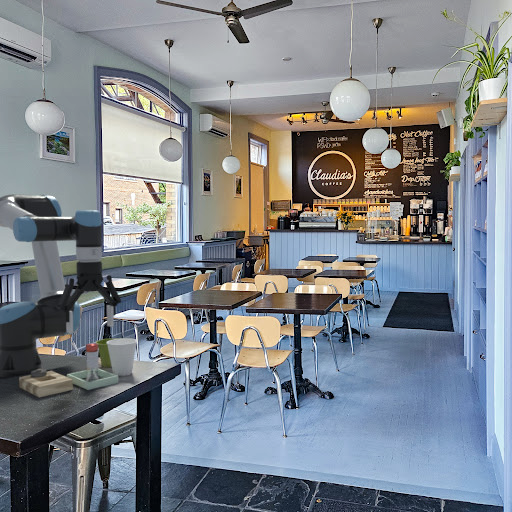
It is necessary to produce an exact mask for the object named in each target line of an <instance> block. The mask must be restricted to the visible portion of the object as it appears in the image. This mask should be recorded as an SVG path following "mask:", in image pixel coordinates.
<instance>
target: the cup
mask: <svg viewBox="0 0 512 512" xmlns="http://www.w3.org/2000/svg"><path fill="white" fill-rule="evenodd" d="M137 342H138V340H137V339H135V338H126V337H124V338H121V337H120V338H117V339H113V340H109V341H107V342H106V343H107V345H108V350H109V355H110V360H111V365H112V366H111V369H112V374H115V375H118V377H126V375H127V376H130V375H131V374H133V369H134V360H135V355H136V354H135V353H136V348H137Z"/></svg>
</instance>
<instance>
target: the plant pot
mask: <svg viewBox="0 0 512 512" xmlns="http://www.w3.org/2000/svg"><path fill="white" fill-rule="evenodd" d="M113 339H118V338H116V337H115V338H104V339H100V340H97V341H95V343H96V344H98V355H99V357H100V359H99V360H100V365H101V366H102V367H103V368H112V365H111V360H110V355H109V350H108V345H107V343H106V342H107V341H109V340H113Z"/></svg>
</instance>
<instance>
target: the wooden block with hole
mask: <svg viewBox="0 0 512 512" xmlns="http://www.w3.org/2000/svg"><path fill="white" fill-rule="evenodd" d="M18 382H19V383H18V384H19V385H18V386H19V388H20V389H22V390H24V391H26V392H28V393H29V394H32V395H33V396H35V397H36V398H42V397H47V396H51V395H55V394H60V393H64V392H68V391H72V390H74V388H73V387H74V384H73V379H70V378H68V377H67V376H65V375H63V374H60V373H59V372H58V373H57V372H56V371H54V370H49V371H47V369H43V370H42V369H36V370H34V371H32V372H31V373H30V374H27V375H22V376H19V379H18Z"/></svg>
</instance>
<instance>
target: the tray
mask: <svg viewBox="0 0 512 512" xmlns="http://www.w3.org/2000/svg"><path fill="white" fill-rule="evenodd" d="M98 370H99V380H95V381H91V382H87V380H85V379H87V376H86V370H81V371H76V372H71V373H67V374H66V377H68V378H70V379H73V385H75V386H78V387H80V388H83V389H85V390H87V391H89V390H93V389H94V390H95V389H98V388H101V387H106V386H109V385H114V384H118V383H119V376H118V375H115V374H113V372H109V371H107V370H103V369H101V368H98Z"/></svg>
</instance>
